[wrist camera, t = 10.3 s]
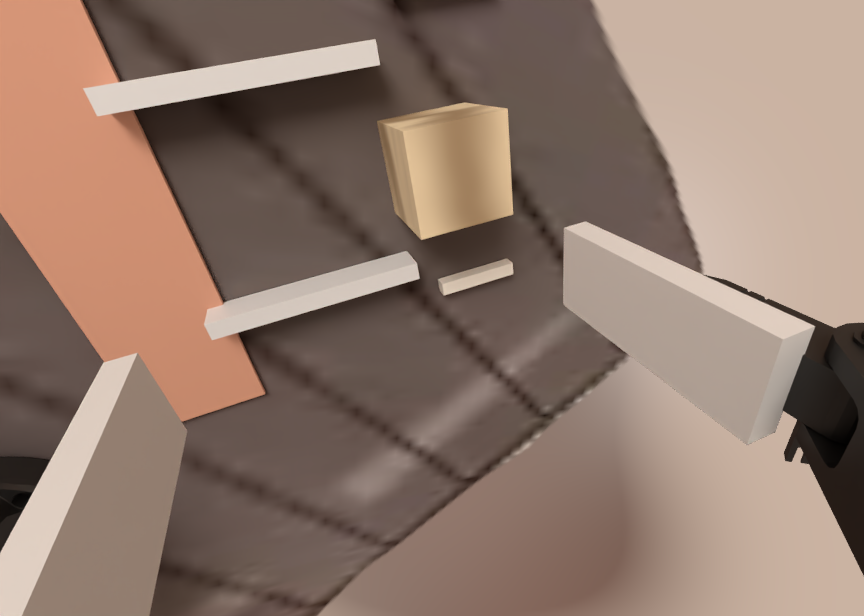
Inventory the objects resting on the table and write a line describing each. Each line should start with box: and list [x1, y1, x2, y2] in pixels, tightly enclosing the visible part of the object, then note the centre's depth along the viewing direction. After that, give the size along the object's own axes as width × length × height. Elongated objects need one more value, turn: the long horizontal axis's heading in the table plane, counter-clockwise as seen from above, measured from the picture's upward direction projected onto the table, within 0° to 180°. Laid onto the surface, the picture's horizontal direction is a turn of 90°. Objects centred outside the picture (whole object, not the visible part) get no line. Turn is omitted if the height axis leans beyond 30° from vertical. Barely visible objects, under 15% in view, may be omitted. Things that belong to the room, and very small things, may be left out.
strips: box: [438, 258, 513, 295], centre depth 29 cm, size 6×20×1 cm, turn 9°
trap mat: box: [0, 0, 265, 422], centre depth 25 cm, size 8×28×1 cm, turn 9°
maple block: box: [377, 103, 513, 240], centre depth 27 cm, size 6×6×6 cm
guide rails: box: [83, 39, 420, 340], centre depth 26 cm, size 14×14×2 cm
